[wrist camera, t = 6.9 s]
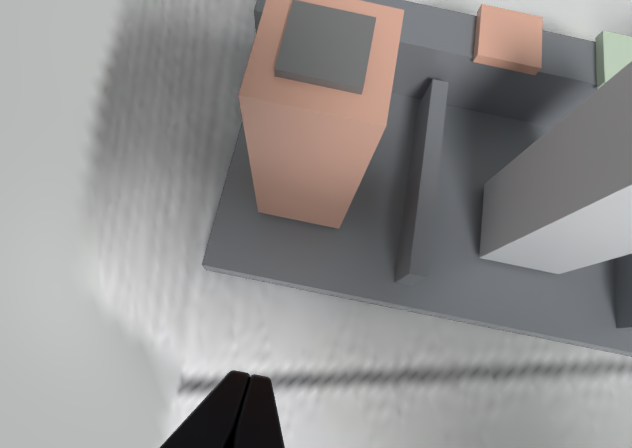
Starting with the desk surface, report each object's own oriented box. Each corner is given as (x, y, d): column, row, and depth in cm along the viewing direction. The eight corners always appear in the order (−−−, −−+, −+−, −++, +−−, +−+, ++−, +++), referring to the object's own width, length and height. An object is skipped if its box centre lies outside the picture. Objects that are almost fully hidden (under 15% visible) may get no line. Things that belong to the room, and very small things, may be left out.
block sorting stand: (787, 388, 21) (956, 400, 16) (206, 269, 20) (180, 241, 15) (748, 143, 25) (871, 88, 20) (269, 40, 25) (266, -43, 20)
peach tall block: (339, 228, 20) (389, 120, 11) (258, 212, 20) (237, 88, 11) (352, 156, 21) (407, 1, 12) (276, 140, 21) (271, -28, 12)
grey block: (558, 274, 20) (797, 206, 11) (479, 257, 20) (650, 175, 11) (559, 199, 21) (773, 81, 12) (484, 183, 21) (641, 52, 12)
